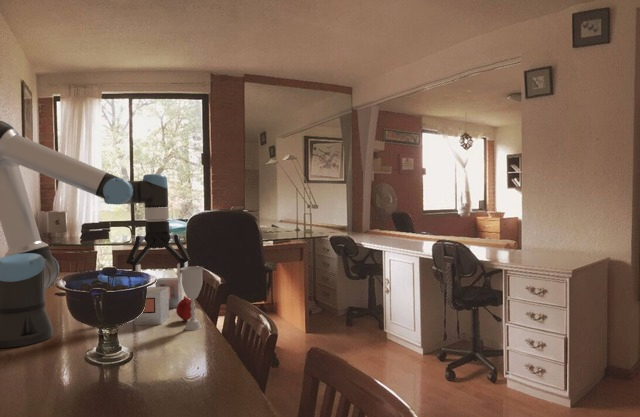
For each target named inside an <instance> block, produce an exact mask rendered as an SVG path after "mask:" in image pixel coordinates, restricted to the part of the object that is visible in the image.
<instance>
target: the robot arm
mask: <svg viewBox="0 0 640 417" xmlns="http://www.w3.org/2000/svg"><path fill="white" fill-rule="evenodd" d="M20 166H21V167H24V168H26V169H29V170H32V171H34V172H37V173H39V174H42V175H44V176H46V177H49V178H51V179H54V180H56V181H59V182H61V183H64V184H66V185H69V186H71V187H74V188H77V189H79V190H81V191H83V192H86V193H89V194H92V195H94V196H97V197H98V198H101V199H103V201H104V203H105V204H107V205H128V204H130V205H131V204H144V220H146V222H145V223H144V225H145V226H144V230H145V235H141V234H139V235H135V239H134V244H133V246H132V248H131V251H130V253H129V256H128V257H127V260H126V264H127V265H131V266H132V272H133V271H141V272H142V265H141V264H140V262H141V261H142V259H143V258H144V257H145V256H146V254H147V253H148V252H149V250H151V249H152V250H153V249H163V248H165V250H167V251H168V252H169V253H170V254H171V255H172V256H173V257H174V259H175V260H176V261H177V262H178V263H177V264H176V266H177V278H178V283H181V284H182V272H181V270H180V269H181V268H184V267H186V266H185V263H187V262H189V261H190V260H191V257H190V256H189V253H188V252H187V250H186V248H185V246H184V244H183V242H182V241H181V238H180V234H178V233H176V234H170V222H169V218H170V217H169V216H170V215H169V214H170V212H169V190H168V189H169V187H168V178H167V176H166V175H164V174H161V173H160V174H157V173H155V174H154V173H153V174H150V173H149V174H144V175H143V176H142V180H127V179H124V178H121V177H119V176H116V175H113V174H111V173H109V172H107V171H106V170H105V171H104V170H102V169H100V168H97V167H95V166H93V165H90V164H88V163H85V162H84V161H81V160H78V159H76V158H74V157H71V156H70V155H67V154H64V153H62V152H60V151H58V150H55V149H53V148H50V147H48V146H45V145H43V144H41V143H39V142H36V141H34V140H32V139H29V138H26V137H24V136H22V135H19V133H18V132H17V130H16V129H15V128H14V127H13V126H12V125H10V124H9V123H8V122H5V121H4V120H0V225H1V229H2V232H3V235H4V238H5V241H6V243H7V244H6V245H7V248H8V250H7V251H6V253H5V254H4V256H2V257H0V349H7V348H18V347H23V346H24V347H25V346H29V345H33V344H37V343H41V342H44V341H45V340H48V339H50V338H52V337H53V336H54V327H53V325H52V322H51V320H50V317H49V314H48V312H47V310H46V290H48V289H49V288H51V286H53V285H54V284H55V282H56V281H57V279H58V277H59V273H60V265H59V263H58V261H57V259H56V258H55V257H54V256H53V255H52V252H51V249H50V245H49V244H48V243H46V242H44V241H42V239H41V238H42V237H41V236H40V232H39V228H38V226H37V222H36V219H35V216H34V212H33V208H32V206H31V203H30V202H31V201H30V199H29V196H28V192H27V189H26V186H25V182H24V179H23V176H22V173H21V170H20ZM171 240H172V241H173V242H174V244H175V245H176V247H177V249H178V251H179V252H180V253H179V252H178V251H177V250H176V249H175V248H174V247H173V246H172V244H171V243H170V241H171ZM144 241H145V243H146V245H145V246H144V248H142V250H141V251H140V253H139V254H138V251H139V249H140V246H141V245H142V243H143V242H144ZM137 254H138V255H137ZM136 255H137V256H136Z"/></svg>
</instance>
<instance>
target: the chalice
mask: <svg viewBox="0 0 640 417" xmlns="http://www.w3.org/2000/svg"><path fill="white" fill-rule="evenodd" d="M204 268H205V267H204V266H201V265H200V266H197V265H196V266H195V265H193V266H185V267H184V268H181V269H180V270H181V272H182V282H181V287H182V289H183V291H184V293H185V296H186V297H187V298H188V299H190V300H191V305H190V306H191V311H190V313H191V315H192V316H191V318H190V319H189V320H187V321H186V324H185V326H184V330H185V331H198V330H200V329H202V328H203V326H202V325H201V323H200V320H199V319H197V317H196V316H195V315H196V304H195V299H197V298H198V297H199V294H200V292H201V290H202V287H203V271H204ZM194 308H195V309H194Z"/></svg>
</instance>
